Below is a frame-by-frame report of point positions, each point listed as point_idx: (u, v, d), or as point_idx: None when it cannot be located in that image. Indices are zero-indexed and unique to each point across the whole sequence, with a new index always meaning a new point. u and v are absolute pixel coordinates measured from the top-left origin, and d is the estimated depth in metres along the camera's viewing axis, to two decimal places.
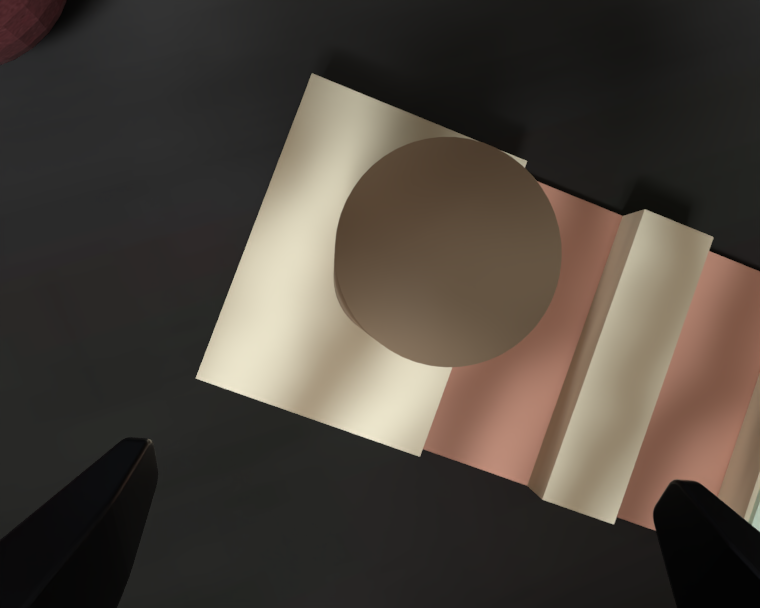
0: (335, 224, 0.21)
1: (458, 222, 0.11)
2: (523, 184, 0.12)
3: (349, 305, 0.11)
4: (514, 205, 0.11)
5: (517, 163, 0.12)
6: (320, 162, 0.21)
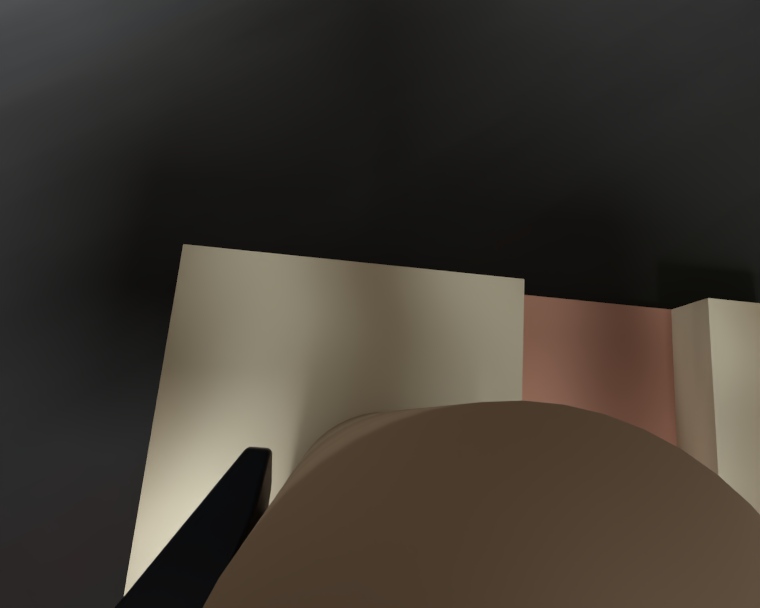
0: None
1: None
2: (669, 481, 0.04)
3: None
4: (666, 555, 0.04)
5: (629, 428, 0.04)
6: (224, 368, 0.14)
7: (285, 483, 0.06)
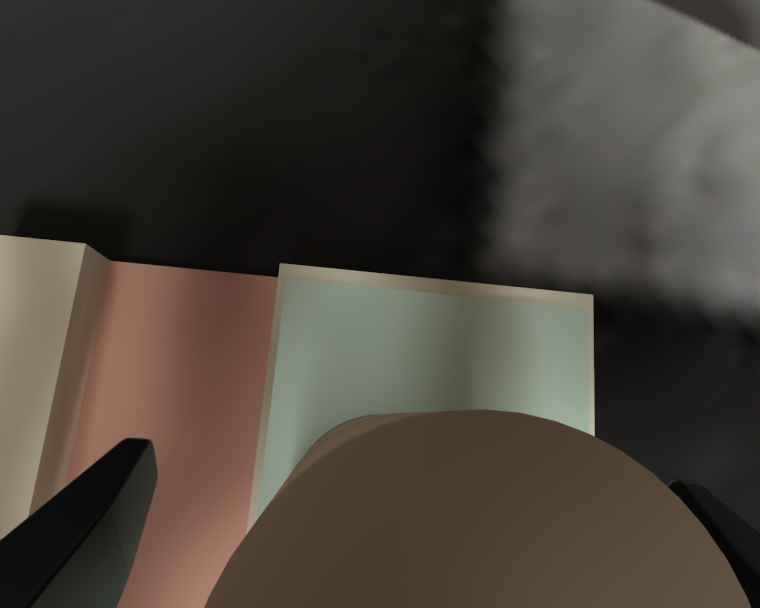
0: None
1: None
2: (609, 478, 0.05)
3: None
4: (606, 538, 0.05)
5: (577, 432, 0.05)
6: None
7: None
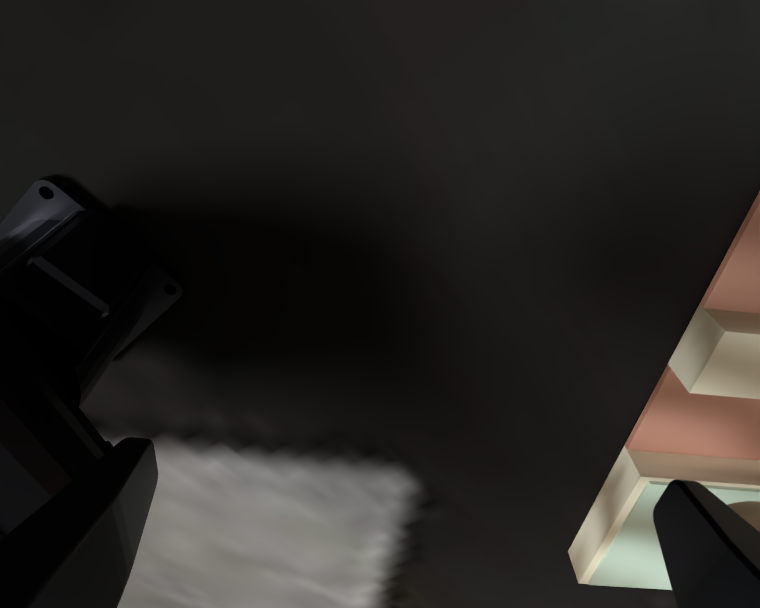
0: None
1: None
2: None
3: None
4: None
5: None
6: None
7: None
